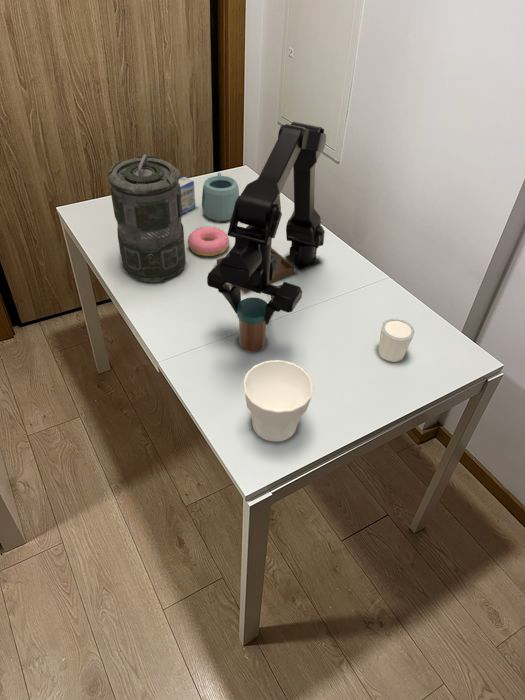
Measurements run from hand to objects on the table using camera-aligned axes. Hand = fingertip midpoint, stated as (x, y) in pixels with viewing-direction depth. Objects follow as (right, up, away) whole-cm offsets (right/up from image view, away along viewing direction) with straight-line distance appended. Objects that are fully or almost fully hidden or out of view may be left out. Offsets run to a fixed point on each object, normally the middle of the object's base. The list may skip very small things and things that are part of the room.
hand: (252, 318), depth 112 cm
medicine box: (-22, +34, +44) cm, 60 cm away
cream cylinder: (+30, -7, +5) cm, 31 cm away
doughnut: (-12, +21, +31) cm, 39 cm away
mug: (-10, +34, +45) cm, 58 cm away
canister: (-26, +15, +24) cm, 38 cm away
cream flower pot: (+4, -21, -11) cm, 24 cm away
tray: (0, +14, +24) cm, 28 cm away
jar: (0, -5, +5) cm, 7 cm away
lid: (0, +2, -2) cm, 3 cm away
